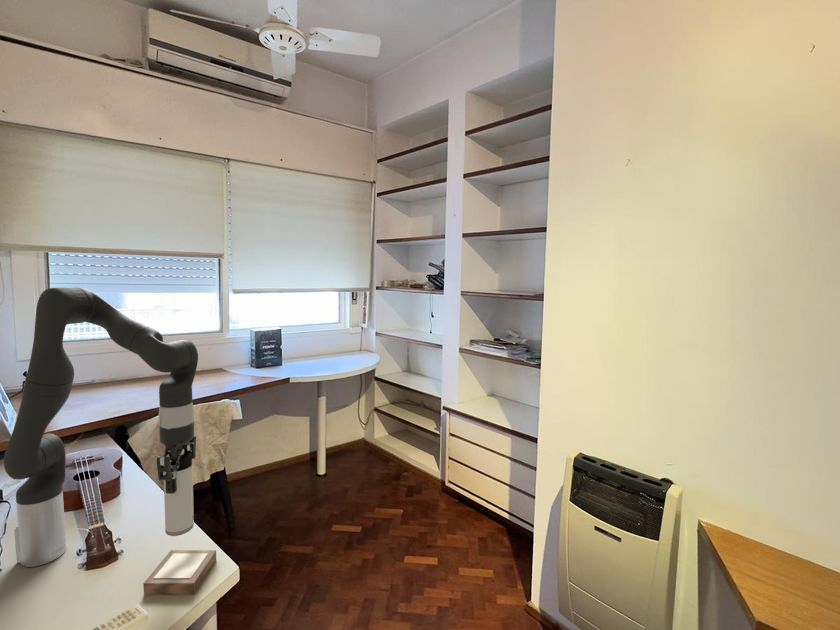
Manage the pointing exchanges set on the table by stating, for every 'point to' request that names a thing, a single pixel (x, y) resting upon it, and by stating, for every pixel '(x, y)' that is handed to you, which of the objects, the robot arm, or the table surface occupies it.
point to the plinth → (180, 572)
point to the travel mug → (180, 500)
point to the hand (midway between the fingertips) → (178, 485)
